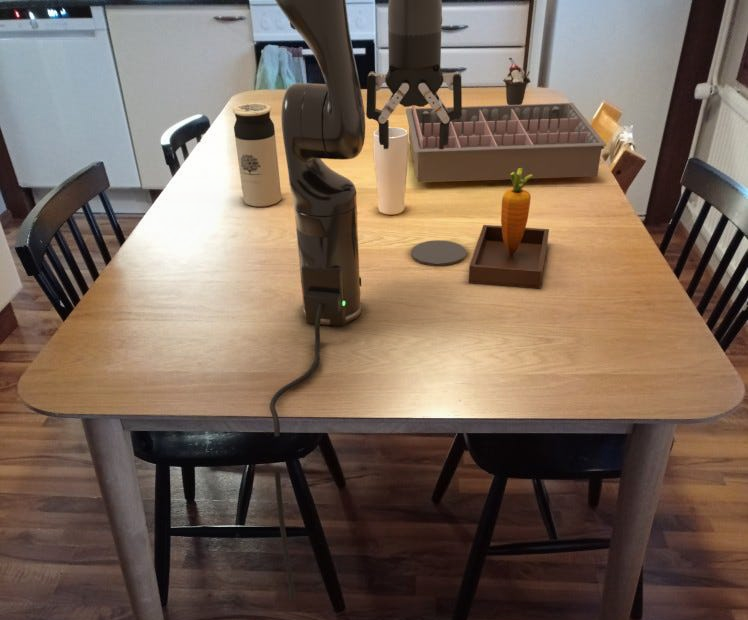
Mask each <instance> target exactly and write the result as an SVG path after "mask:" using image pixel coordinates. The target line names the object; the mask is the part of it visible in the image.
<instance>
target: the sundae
mask: <svg viewBox="0 0 748 620" xmlns="http://www.w3.org/2000/svg"><path fill="white" fill-rule="evenodd" d="M508 60H509V61H511V66H510V67H509V68H508V73H506V76H505V77H504V79H503V80H502V81H503V82H504V85H505V97H506V98H505V99H506V105H523V103H524V99H525V94H526V89H527V85H528V84H529V83H531V79H530V78H529V77H528V76H529V75H530V73H531V71H530V70H528V72H527V73H526V74H525V70H524V69H523V68H521V67H520V66H519V65H517V64H516V62H515V61H514V60H513V58H512V57H509V58H508ZM513 65H514V66H513Z"/></svg>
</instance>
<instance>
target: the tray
mask: <svg viewBox="0 0 748 620" xmlns="http://www.w3.org/2000/svg"><path fill="white" fill-rule="evenodd" d="M549 234H550V229H549V228H537V227H526V228H525V231H524V234H523V237H522V240H521V242H520V244H519V246H518V248H517V250H516V251H515V253H514V254H513V255H510V254H509V253H508V252H507V249H506V247H505V244H504V241H503V236H502V227H501V225H493V224H483V225H482V227H481V230H480V232H479V236H478V239H477V243H476V246H475V249H474V251H473V254H472V257H471V260H470V263H469V267H468V269H469V270H468V283H471V284H481V285H492V286H493V285H494V286H495V285H496V286H507V287H519V288H528V289H529V288H531V289H540V288H541V283H542V277H543V272H544V266H545V260H546V255H547V249H548V243H549Z"/></svg>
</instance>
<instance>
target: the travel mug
mask: <svg viewBox="0 0 748 620" xmlns="http://www.w3.org/2000/svg"><path fill="white" fill-rule="evenodd" d="M271 111H272V107H271V106H270V105H269V104H266V103H263V102H251V103H243V104H239V105H236V106H234V107H233V109H232V113H233V114H234V115H235V122H234V125H233V131H234V132H233V133H234V140H235V146H236V154H237V161H238V169H239V176H240V183H241V190H242V199H243V202H244V203H245V204H247V205H249V206H251V207H257V208H258V207H259V208H260V207H263V208H264V207H269V206H274V205H275V204H278V202H280V201H281V200H282V190H281V188H282V187H281V179H280V170H279V160H278V151H277V149H278V148H277V139H276V130H275V123H274V122H273V120H272V118H271Z"/></svg>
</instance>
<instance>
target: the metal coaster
mask: <svg viewBox="0 0 748 620" xmlns="http://www.w3.org/2000/svg"><path fill="white" fill-rule="evenodd" d="M410 256H411V259H413V260H414V261H415V262H417V263H419V264H423V265H426V266H433V267H444V266H452V265H456V264H458V263H460V262H462V261H464V260H465V258H466V256H467V249H466V248H465V247H464V245H461V244H460V243H457V242H454V241H449V240H428V241H423V242H420V243H418V244H416V245H414V246H413V247H412V248H411V250H410Z"/></svg>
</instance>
